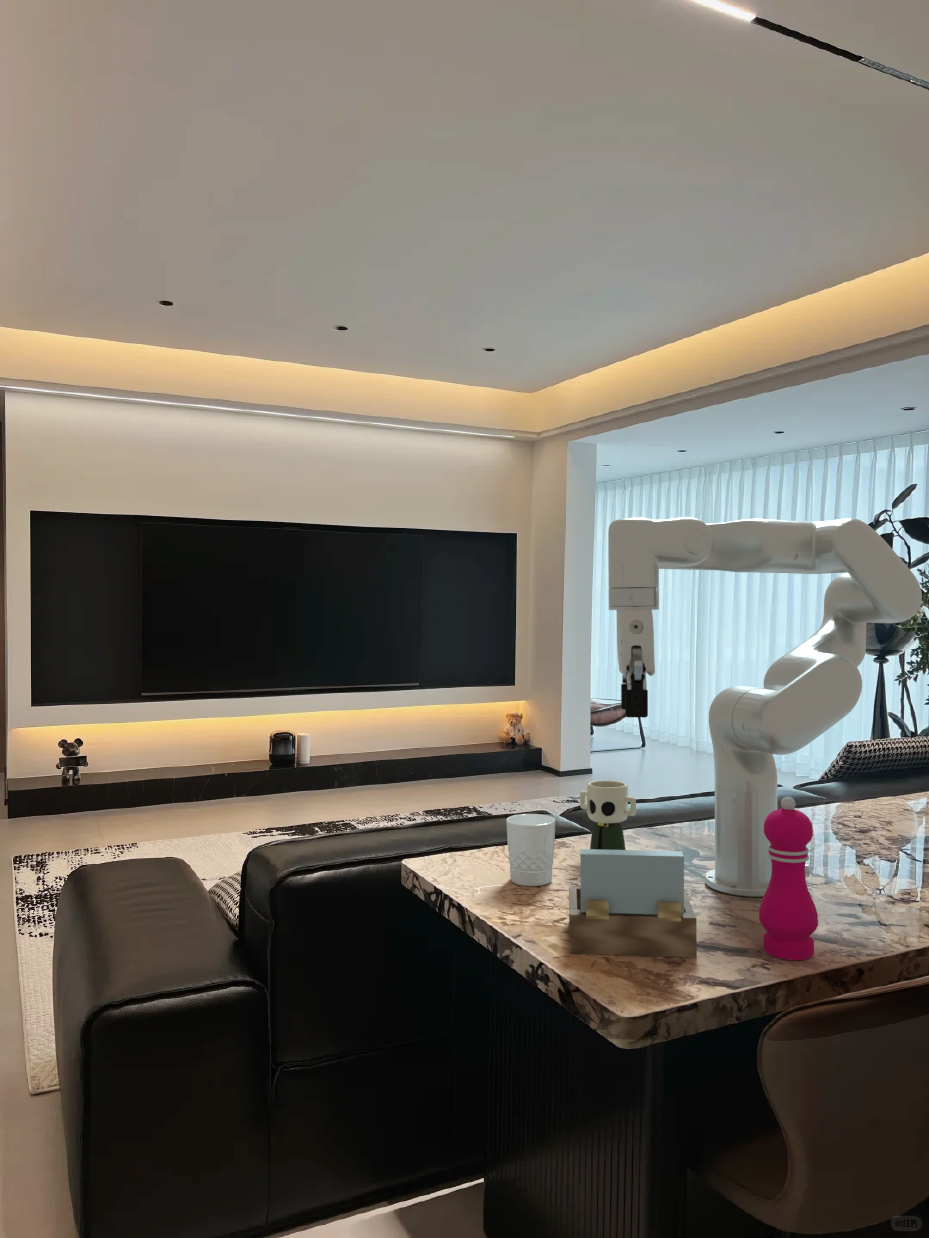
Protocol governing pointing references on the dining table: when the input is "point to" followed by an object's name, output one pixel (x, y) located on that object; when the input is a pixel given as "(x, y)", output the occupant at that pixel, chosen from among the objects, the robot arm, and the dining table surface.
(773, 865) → the pepper mill
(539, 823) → the white cup
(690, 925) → the carcass
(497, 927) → the dining table surface
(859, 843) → the dining table surface
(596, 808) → the character mug
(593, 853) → the door
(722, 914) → the dining table surface
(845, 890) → the dining table surface
